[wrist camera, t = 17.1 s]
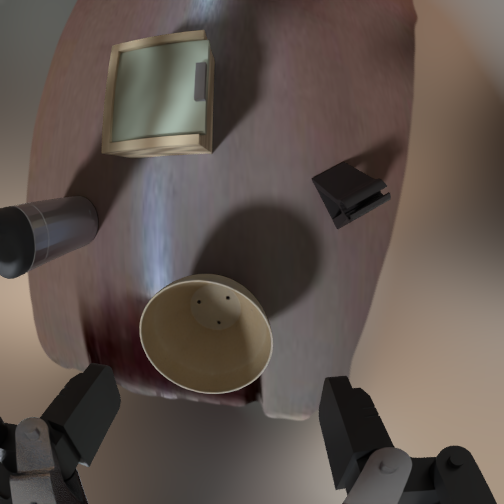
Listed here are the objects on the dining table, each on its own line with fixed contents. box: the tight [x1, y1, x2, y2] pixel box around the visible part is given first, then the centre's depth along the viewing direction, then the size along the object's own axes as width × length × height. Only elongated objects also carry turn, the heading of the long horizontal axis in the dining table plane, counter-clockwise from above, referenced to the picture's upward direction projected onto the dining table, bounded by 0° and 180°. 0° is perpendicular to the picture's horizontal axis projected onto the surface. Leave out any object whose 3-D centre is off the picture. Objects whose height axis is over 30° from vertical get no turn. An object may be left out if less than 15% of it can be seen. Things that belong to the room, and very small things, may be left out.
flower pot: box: [140, 274, 273, 394], centre depth 42 cm, size 18×18×12 cm
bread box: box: [101, 30, 215, 158], centre depth 34 cm, size 14×16×12 cm
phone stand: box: [312, 162, 391, 229], centre depth 37 cm, size 9×6×12 cm, turn 29°
